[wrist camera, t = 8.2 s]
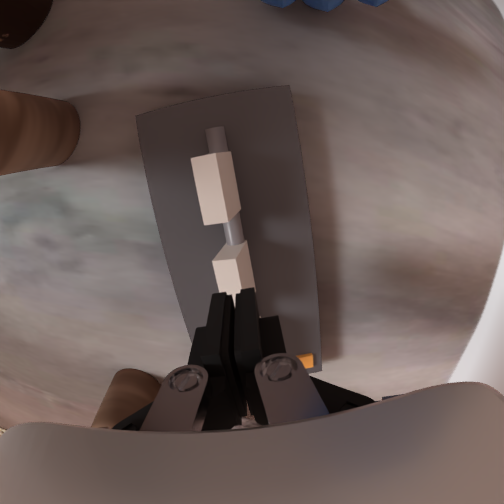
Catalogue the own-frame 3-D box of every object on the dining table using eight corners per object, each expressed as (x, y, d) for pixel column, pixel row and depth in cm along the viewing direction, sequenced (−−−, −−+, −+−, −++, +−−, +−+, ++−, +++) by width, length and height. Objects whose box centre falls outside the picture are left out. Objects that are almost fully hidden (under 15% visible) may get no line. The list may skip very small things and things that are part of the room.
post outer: (105, 368, 23) (48, 490, 10) (152, 367, 23) (107, 509, 10) (126, 404, 25) (88, 519, 11) (170, 404, 24) (144, 532, 11)
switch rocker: (206, 131, 15) (185, 128, 12) (227, 126, 15) (210, 122, 12) (254, 366, 20) (246, 397, 17) (270, 366, 20) (265, 397, 17)
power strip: (145, 119, 16) (133, 115, 14) (284, 92, 16) (290, 83, 14) (210, 371, 23) (207, 390, 21) (316, 355, 23) (322, 373, 21)
